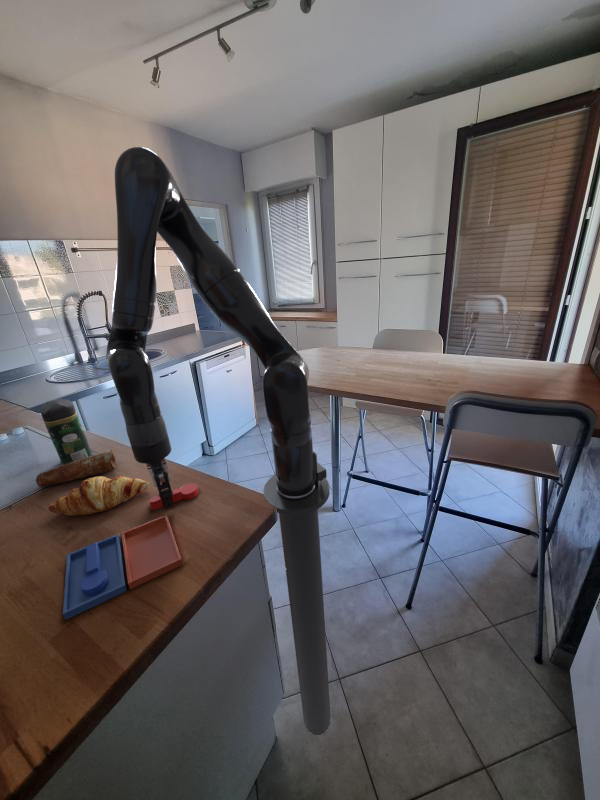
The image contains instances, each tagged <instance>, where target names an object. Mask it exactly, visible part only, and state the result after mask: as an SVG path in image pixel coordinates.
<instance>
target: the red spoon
mask: <svg viewBox="0 0 600 800" xmlns="http://www.w3.org/2000/svg"><path fill="white" fill-rule="evenodd" d="M171 490H172V491H173V493H172V494H173V495H172V498H173V502H174V503H177V502H179V501H181V500H191V499H194V498H195V497H197V496H198V494H199V488H198V485H197V484H196V483H187V484H185V485H183V486H181V487H178V488H175V489H171ZM148 501H149V504H150V508H151V511H156V510H158V509H161V508H164V507H163V504H162V500H161V498H160V497H159V494H157V495H156V496H153V497H150V498H149V499H148Z"/></svg>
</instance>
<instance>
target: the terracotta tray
mask: <svg viewBox="0 0 600 800" xmlns="http://www.w3.org/2000/svg"><path fill="white" fill-rule="evenodd" d="M121 543H122V551H123V558H124V562H125V565H124V566H125V571H126V572H125V573H126V579H127V580H126V581H127V585H128V587H129V589H130V590H132V589H134V588H136V587H138V586H141V585H142V584H144V583H147V582H149V581H151V580H154V579H155V578H157V577H160V576H161V575H163V574H166V573H168V572H170V571H172V570H174V569H176V568H179V567H180V566H182V565H183V563H184V562H183V560H182V557H181V553H180V550H179V548H178V545H177V542H176V538H175V535H174V533H173V529H172V527H171V522H170V520H169V518H168V515H167V514H165V515H162V516H159V517H157V518H155V519H152V520H150V521H147V522H145V523H142V524H139V525H138V526H135V527H133V528H130V529H127V530H125V531H122V532H121Z"/></svg>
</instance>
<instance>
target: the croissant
mask: <svg viewBox="0 0 600 800" xmlns="http://www.w3.org/2000/svg"><path fill="white" fill-rule="evenodd" d="M149 487H150V483H149V482H148V481H145V480H143V479H141V478H138V477H135V478H133V479H132V478H131V477H127V476H123V475H122V474H120V475H118V476H116V477H113V478H108V477H106V476H101V475H100V476H99V475H98V476H94V477H89V478H87V479H85V480H82V482H81V483H80V486H79V487H74V488H73V489H71V490H70V492H69V494H67V495H62V496H61V497H59V498H57V499H56V501H54V502H52V503H49V504H48V505H47V510H49V512H51V513H53V514H61V515H66V516H69V517H75V516H76V517H77V516H89V515H94V514H95V513H96V514H97V513H101V512H105V511H108V510H110V509H113V508H115V507H116V506H118V505H120V504H121V503H124V502H127V501H129V500H130V499H131V498H133V497H135V495H141V494H142V493H144V492H145V491H147V490H148V489H149Z"/></svg>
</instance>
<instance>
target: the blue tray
mask: <svg viewBox="0 0 600 800" xmlns="http://www.w3.org/2000/svg"><path fill="white" fill-rule="evenodd" d="M96 542H97V541H96ZM97 544H98V546H99V549H100V559H101V570H104V571H105V572H106V574H107V576H108V579H109V582H108V585H107V586H106V588H105V589H104V590H103V591H101V592H100V593H98V594H96V595H94V596H85V595H84V594H83V592H82V590H81V588H80V583H81V581H82V579H83V578H84V577H85V576H86V575H87V573H86V546H84V547H81V548H80V549H77V550H74V551H72V552H69V553H67V554H66V566H65V579H64V590H63V591H64V592H63V604H62V605H63V606H62V607H63V608H62V615H63V617H64V619H65V620H68V619H70V618H73V617H75V616H77V615H79V614H81V613H83V612H86V611H88V610H89V609H92V608H94V607H96V606H98V605H100V604H102V603H104V602H106V601H109V600H111V599H112V598H115V597H117V596H120V595H121V594H124V593H125V592H127V591H128V588H127V580H126V579H127V578H126V574H125V573H126V572H125V571H126V570H125V565H124V555H123V547H122V539H121V537H120V534H119V533H117V534H114V535H112V536H110V537H107V538H105V539H102V540H100V541H98V542H97Z"/></svg>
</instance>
